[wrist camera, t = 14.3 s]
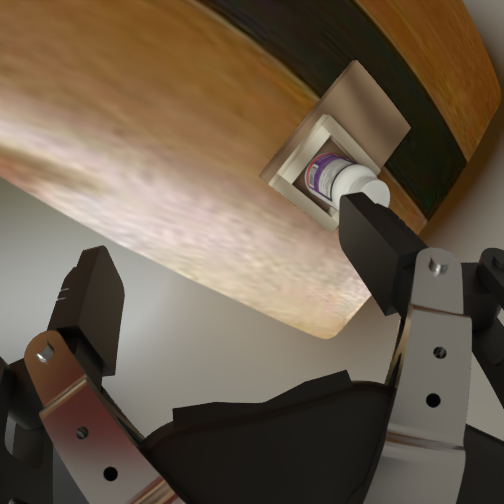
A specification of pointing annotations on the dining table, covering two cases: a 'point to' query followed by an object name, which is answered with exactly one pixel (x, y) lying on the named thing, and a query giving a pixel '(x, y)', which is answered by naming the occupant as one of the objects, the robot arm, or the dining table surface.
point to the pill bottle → (343, 180)
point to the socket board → (337, 139)
